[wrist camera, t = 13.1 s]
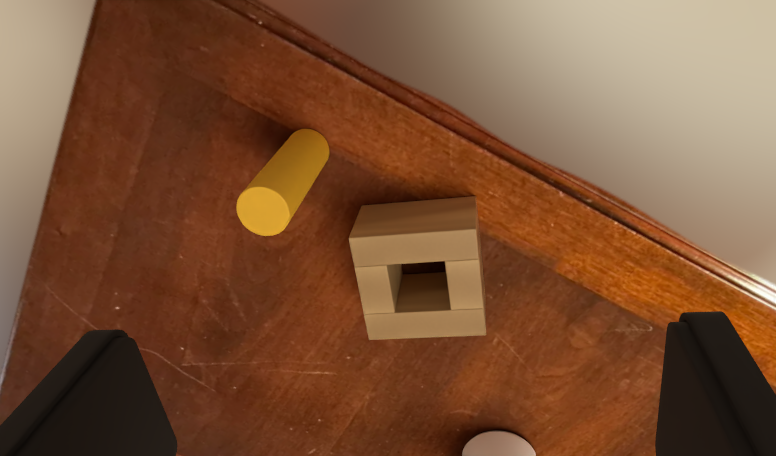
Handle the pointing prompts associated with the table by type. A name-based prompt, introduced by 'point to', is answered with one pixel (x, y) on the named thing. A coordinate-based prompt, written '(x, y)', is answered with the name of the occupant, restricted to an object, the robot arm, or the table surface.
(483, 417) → the table surface
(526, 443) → the can
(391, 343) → the table surface
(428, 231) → the stand
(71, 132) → the table surface
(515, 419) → the table surface
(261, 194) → the peg
